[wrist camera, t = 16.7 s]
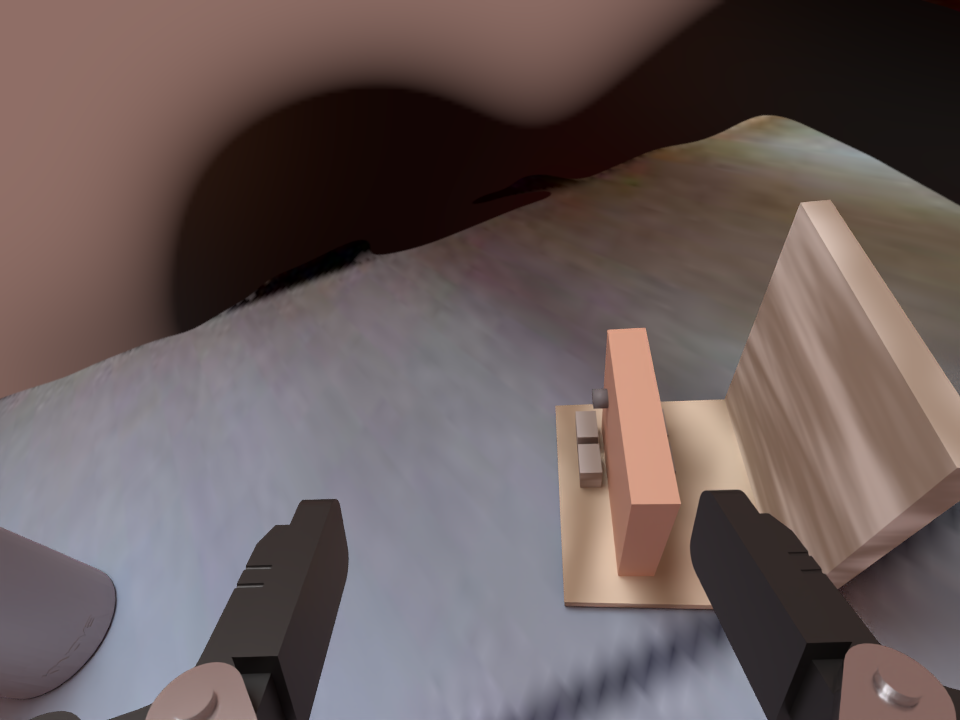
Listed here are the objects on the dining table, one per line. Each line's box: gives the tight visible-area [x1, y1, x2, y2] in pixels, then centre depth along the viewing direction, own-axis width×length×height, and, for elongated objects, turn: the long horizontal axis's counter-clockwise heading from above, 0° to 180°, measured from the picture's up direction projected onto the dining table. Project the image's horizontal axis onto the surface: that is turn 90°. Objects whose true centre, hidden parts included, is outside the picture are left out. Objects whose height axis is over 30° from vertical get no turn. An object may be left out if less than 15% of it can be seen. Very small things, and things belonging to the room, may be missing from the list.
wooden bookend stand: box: [556, 200, 960, 609], centre depth 31 cm, size 16×16×20 cm
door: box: [592, 328, 681, 576], centre depth 34 cm, size 3×12×12 cm, turn 177°
